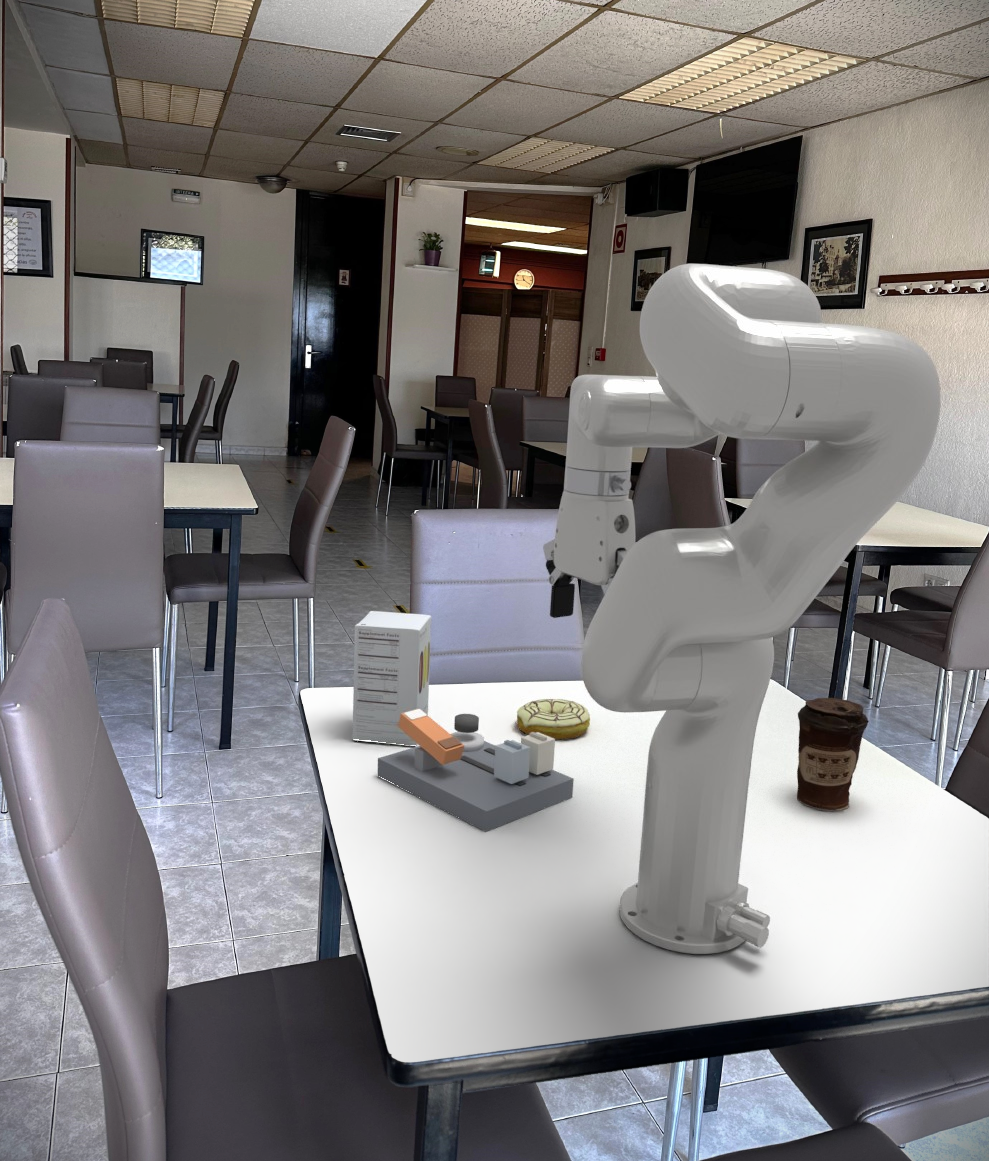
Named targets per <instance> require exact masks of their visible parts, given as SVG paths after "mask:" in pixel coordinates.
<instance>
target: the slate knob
mask: <svg viewBox="0 0 989 1161" xmlns="http://www.w3.org/2000/svg"><path fill="white" fill-rule="evenodd" d="M529 760H530V747H529V746H526V745H524V744H521V742H518V741H516V740H513V739H512V740H509V739H506V740H504V742H502V743H500V744H496V745H495V764H494V777H497V778H499V779H501V780H503V781H505V782H508V783H510V784H513V783H516V782H519V781H521V780H524V779H527V778H529Z"/></svg>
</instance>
